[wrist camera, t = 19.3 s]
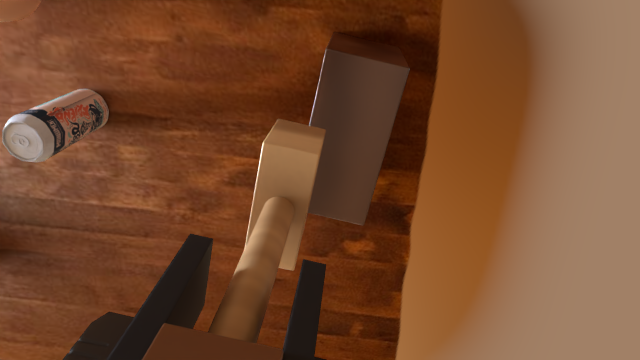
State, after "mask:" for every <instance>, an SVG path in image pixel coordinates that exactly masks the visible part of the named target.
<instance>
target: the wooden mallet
mask: <svg viewBox="0 0 640 360" xmlns="http://www.w3.org/2000/svg"><path fill="white" fill-rule="evenodd" d="M325 133H326V130H325V129H322V128H318V127H313V126H309V125H304V124H300V123H296V122H291V121H287V120H282V119H278V120H277V121H276V123H275V124H274V126H273V127H272V129H271V131H270V132H269V134H268V135H267V137H266V139H265V140H264V142H263V144H262V150H261V156H260V162H259V167H258V173H257V179H256V185H255V191H254V196H253V202H252V208H251V214H250V220H249V225H248V231H247V237H246V243H245V249H244V252H243V254H242V256H241V259H240V261H239V263H238V265H237V268H236V270H235V272H234V274H233V277H232V279H231V281H230V283H229V286H228V288H227V290H226V292H225V295H224V297H223V299H222V301H221V304H220V306H219V308H218V310H217V313H216V315H215V317H214V319H213V322H212V324H211V326H210V328H209V331H208V333H207V332H203V331H199V330H194V329H190V328H185V327H181V326H176V325H172V324H167V323H164V324H163V325H162V327H161V328H160V330H159V332H158V333H157V335H156V337H155V338H154V340H153V342H152V344H151V345H150V347H149V349H148V350H147V352H146V354H145V355H144V357H143V359H142V360H282V359H283V354H284V352H283V350H282V349H279V348H274V347H270V346H265V345H261V344H257V343H256V342H257V339H258V336H259V332H260V329H261V325H262V322H263V319H264V315H265V312H266V308H267V305H268V302H269V298H270V295H271V291H272V288H273V285H274V281H275V278H276V274H277V271H278V268H283V269H288V270H292V271H293V270H294V269H295V265H296V261H297V256H298V252H299V248H300V244H301V239H302V235H303V231H304V226H305V222H306V217H307V213H308V208H309V204H310V200H311V195H312V191H313V186H314V182H315V177H316V173H317V168H318V164H319V159H320V155H321V151H322V146H323V142H324V137H325Z"/></svg>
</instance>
